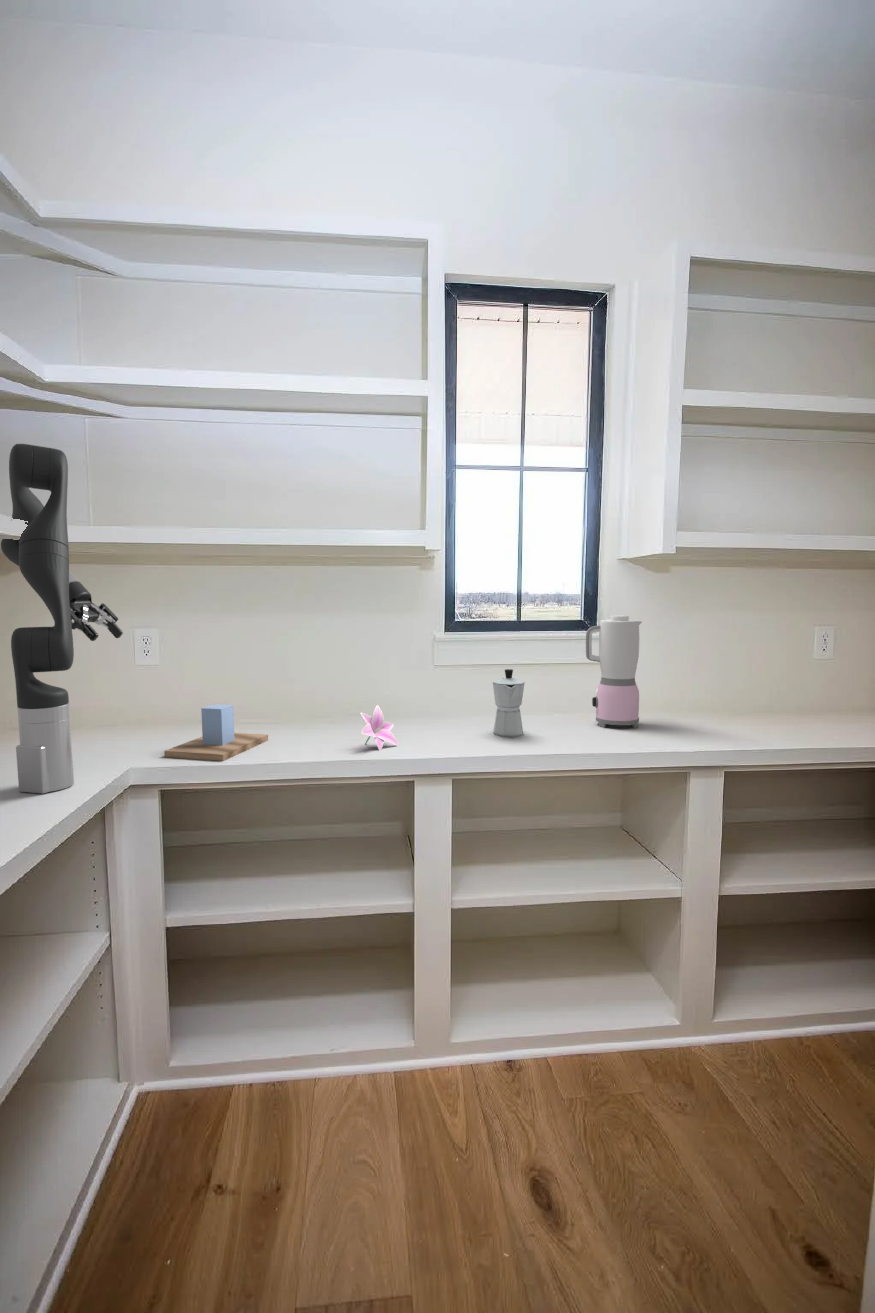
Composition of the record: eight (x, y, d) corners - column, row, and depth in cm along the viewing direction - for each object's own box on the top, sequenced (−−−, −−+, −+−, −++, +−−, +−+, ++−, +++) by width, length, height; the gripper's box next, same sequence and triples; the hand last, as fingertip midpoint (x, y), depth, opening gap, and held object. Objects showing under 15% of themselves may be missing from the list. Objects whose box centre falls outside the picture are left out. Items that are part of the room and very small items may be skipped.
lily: (353, 756, 171) (369, 725, 168) (342, 730, 180) (357, 700, 177) (394, 765, 177) (411, 734, 174) (381, 738, 186) (396, 709, 183)
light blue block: (222, 745, 172) (221, 709, 171) (202, 744, 173) (201, 708, 172) (234, 740, 177) (233, 705, 176) (215, 739, 179) (213, 704, 178)
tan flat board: (223, 761, 163) (221, 725, 162) (164, 757, 167) (162, 722, 166) (268, 740, 184) (267, 708, 183) (215, 737, 188) (213, 706, 187)
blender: (634, 721, 207) (637, 614, 203) (643, 729, 195) (646, 616, 191) (581, 720, 208) (583, 614, 205) (586, 729, 196) (588, 616, 193)
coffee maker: (527, 738, 185) (527, 672, 183) (494, 738, 185) (494, 672, 183) (520, 726, 200) (520, 665, 198) (490, 727, 199) (490, 665, 197)
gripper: (52, 580, 164) (95, 628, 163) (95, 580, 178) (136, 624, 177) (35, 602, 166) (78, 650, 165) (79, 600, 180) (119, 645, 178)
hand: (108, 637), depth 171 cm, fingers open, 8 cm apart
